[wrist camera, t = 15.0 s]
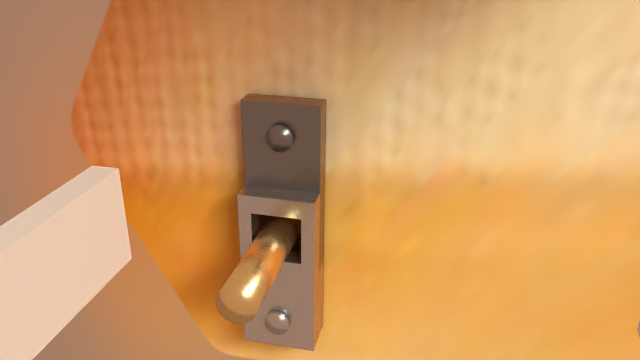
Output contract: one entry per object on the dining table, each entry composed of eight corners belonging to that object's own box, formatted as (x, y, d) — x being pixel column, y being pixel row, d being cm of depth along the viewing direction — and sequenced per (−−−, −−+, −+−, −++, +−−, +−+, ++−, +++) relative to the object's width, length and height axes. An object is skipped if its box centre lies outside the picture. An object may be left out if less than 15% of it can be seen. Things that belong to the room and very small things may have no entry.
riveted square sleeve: (248, 93, 51) (229, 109, 47) (326, 99, 50) (313, 115, 45) (257, 315, 61) (242, 343, 57) (322, 325, 60) (312, 355, 55)
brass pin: (271, 202, 55) (214, 284, 43) (304, 206, 54) (255, 290, 42) (272, 231, 56) (217, 320, 44) (304, 235, 56) (257, 326, 43)
